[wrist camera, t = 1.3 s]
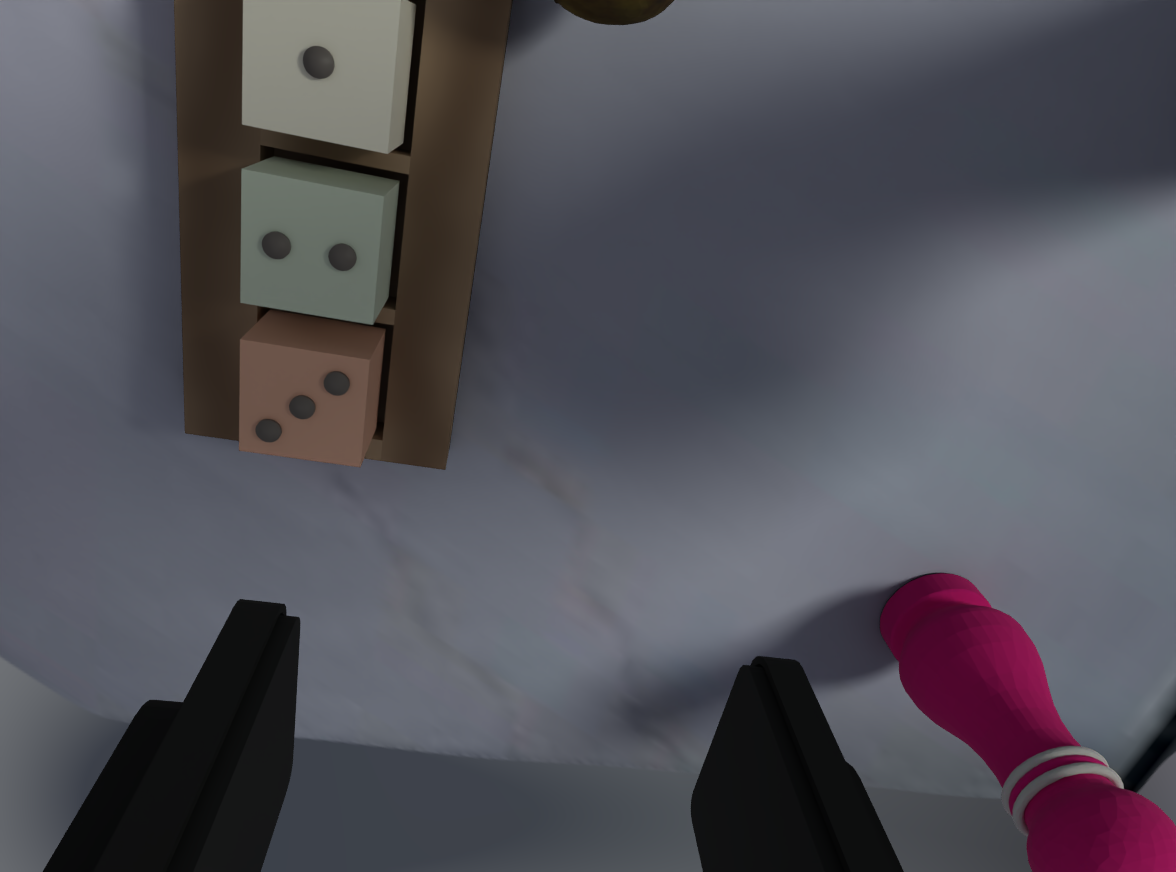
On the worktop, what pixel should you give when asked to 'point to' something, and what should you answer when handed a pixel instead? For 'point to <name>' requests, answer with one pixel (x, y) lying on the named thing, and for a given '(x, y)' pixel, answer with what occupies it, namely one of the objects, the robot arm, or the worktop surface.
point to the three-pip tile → (309, 388)
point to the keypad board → (422, 165)
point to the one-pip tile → (328, 69)
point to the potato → (615, 10)
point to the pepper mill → (1019, 731)
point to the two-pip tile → (316, 239)
